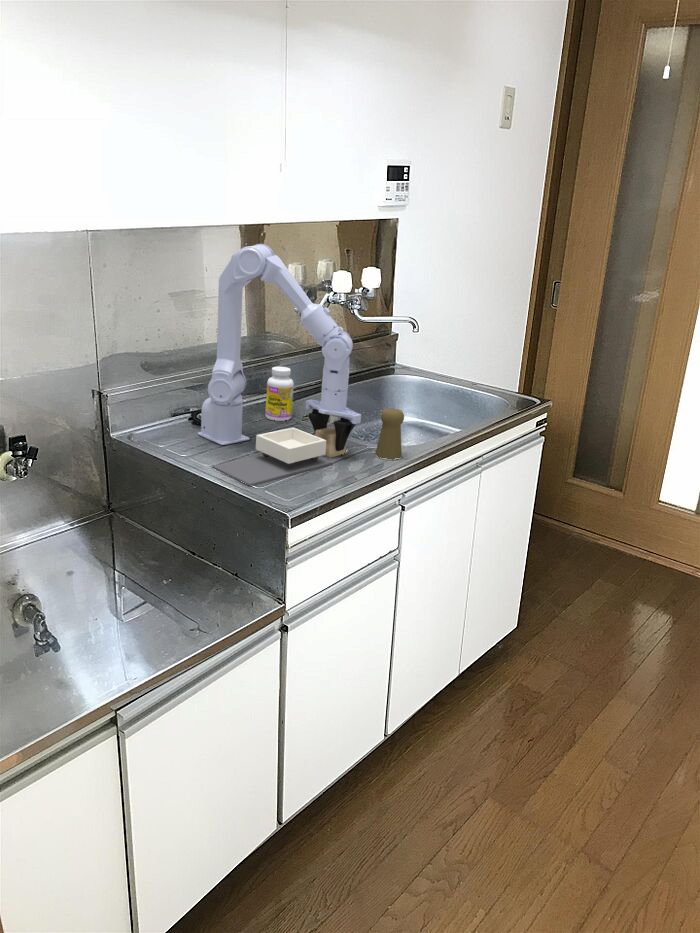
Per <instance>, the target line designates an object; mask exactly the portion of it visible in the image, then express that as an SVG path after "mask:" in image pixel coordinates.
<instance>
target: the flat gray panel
mask: <svg viewBox="0 0 700 933" xmlns="http://www.w3.org/2000/svg"><path fill="white" fill-rule="evenodd" d="M331 465H333V461H331V460H328V459H326V458H324V457H322V456H318V460H317V461H315V462H314V461H312V460H311V459H310V458H309V459H305V460H302V461H298V462H294V466H293V467H292V468H289V467H287V466H286V462H283V461H281V460H279V459H277V458H274V457H272V456H269V457H265V456H263V454H260V455H254V456H250V457H245V458H242V459H237V460H233V461H229V462H226V463H220V464H216V465H213V466H212V469H213V468H214V469H213V470H215V469H216V470H215V471H217V470H218V471H217V472H219V471H220V473H221V472H222V473H221V474H223V473H224V475H225V474H226V475H225V476H227V475H229V476H231V477H233V478H235V479H237V480H239V481H238V482H240V481H242V482H244V483H246V484H247V485H246V484H245V485H246V486H248V485H249V486H248V487H252V486H251V485H253V486H256V485H257V486H258V485H261V484H264V483H268V482H271V481H276V480H280V479H282V478H286V477H290V476H294V475H297V474H301V473H306V472H309V471H312V470H316V469H320V468H324V467H328V466H331ZM229 476H228V477H229ZM231 477H230V478H231ZM233 478H232V479H233ZM235 479H234V480H235ZM237 480H236V481H237ZM242 482H241V483H242ZM244 483H243V484H244Z"/></svg>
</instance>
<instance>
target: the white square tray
mask: <svg viewBox="0 0 700 933" xmlns="http://www.w3.org/2000/svg"><path fill="white" fill-rule="evenodd" d="M326 441H327V440H324V439H322V438H319V437H317V436H315V434H314V435H313V434H311V433H309V432H306V431H303V430H302V429H299V428H296V427H293V426H292V427H289V428H283V429H279V430H274V431H270V432H265V433H264V432H263V433H260V434H256V436H255V450H257V451H258V452H261V455H263V456H265V457H269V456H272V457H274V458H277V459H279V460H281V461H283V462H286V466H287V467H289V468H292V467H293V466H294V462H298V461H302V460H305V459H309V458H310V459H311V460H312V461H314V462H315V461H317V460H318V456H319V457H322V456H324V455H325V454H326Z"/></svg>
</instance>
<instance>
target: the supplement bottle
mask: <svg viewBox="0 0 700 933" xmlns="http://www.w3.org/2000/svg"><path fill="white" fill-rule="evenodd" d="M291 370H292V369H291V368H289V367H287V366H274V367H271V375H272V376H271V377H269V378H268V380H267V382H266V397H265V398H266V400H265V418H266V419H268V420H270V421H274V420H275V421H276V422H285V420H287V421H289V420H290V419H291V418H292V414H293V413H292V412H293V400H294V380H293V379H292V378H290V376H291V372H292V371H291Z"/></svg>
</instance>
